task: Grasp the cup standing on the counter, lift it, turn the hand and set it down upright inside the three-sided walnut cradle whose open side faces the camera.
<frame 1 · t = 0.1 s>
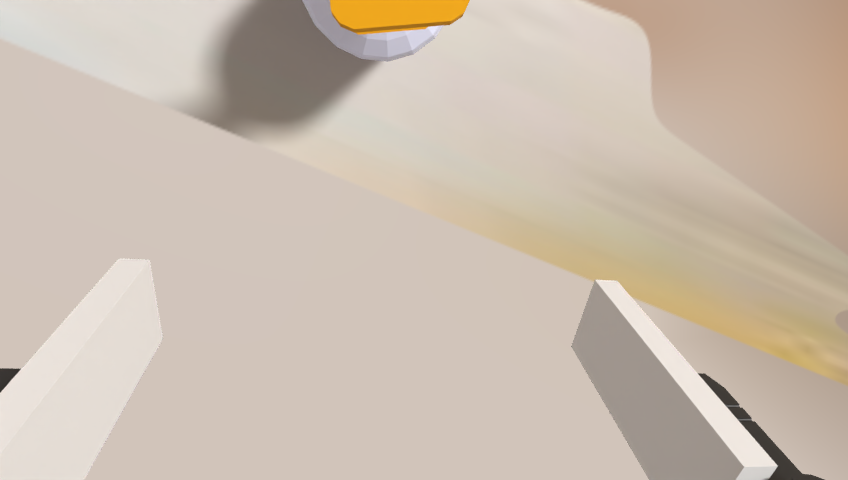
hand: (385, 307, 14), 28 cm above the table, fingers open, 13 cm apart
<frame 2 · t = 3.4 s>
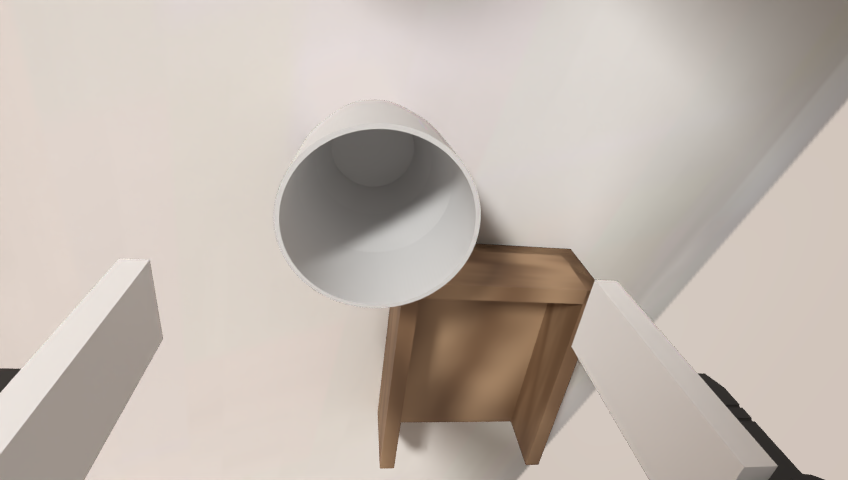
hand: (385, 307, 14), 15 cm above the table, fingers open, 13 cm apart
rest: (466, 337, 35), on the table
cup: (373, 145, 27), on the table
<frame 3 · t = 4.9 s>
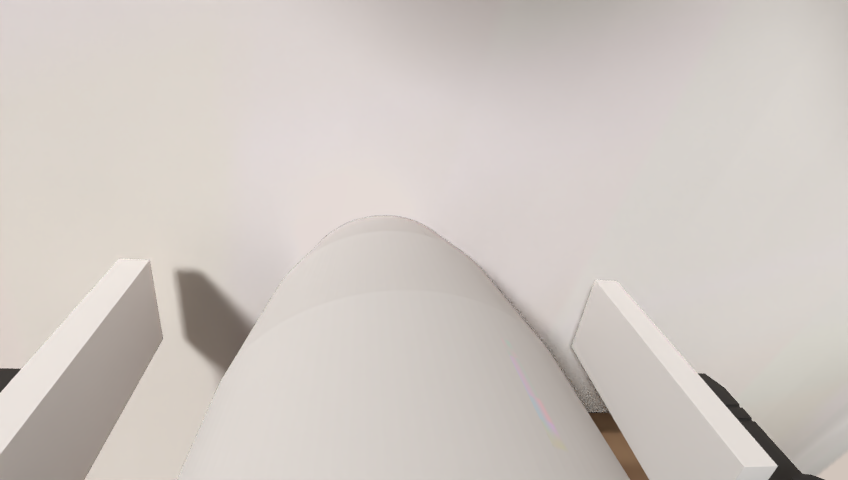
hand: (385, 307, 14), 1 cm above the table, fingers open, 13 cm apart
cup: (383, 281, 15), on the table
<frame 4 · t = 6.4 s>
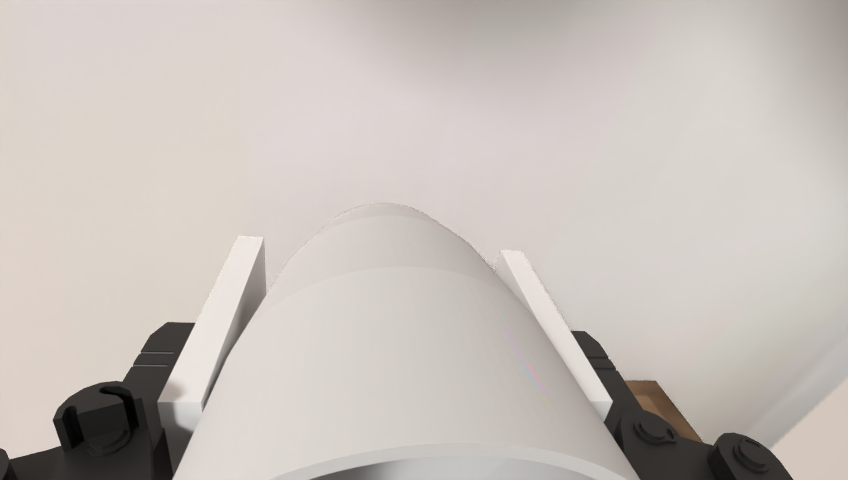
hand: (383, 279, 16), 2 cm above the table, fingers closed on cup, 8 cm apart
cup: (383, 267, 16), point 2 cm above the table, touching gripper
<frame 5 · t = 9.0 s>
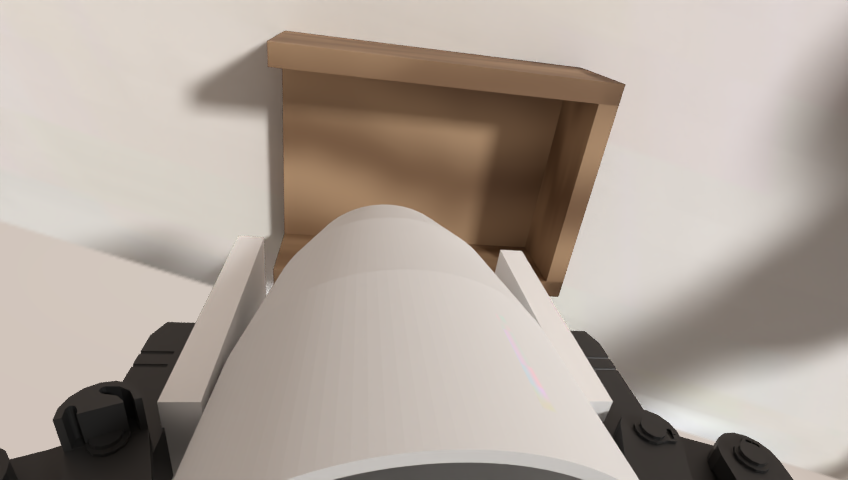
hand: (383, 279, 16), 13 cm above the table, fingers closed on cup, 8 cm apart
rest: (426, 158, 27), on the table
cup: (383, 269, 16), point 13 cm above the table, touching gripper
when the fingers open (3 cm above the table, at t = 11.5 s): cup drops 1 cm, resting on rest.
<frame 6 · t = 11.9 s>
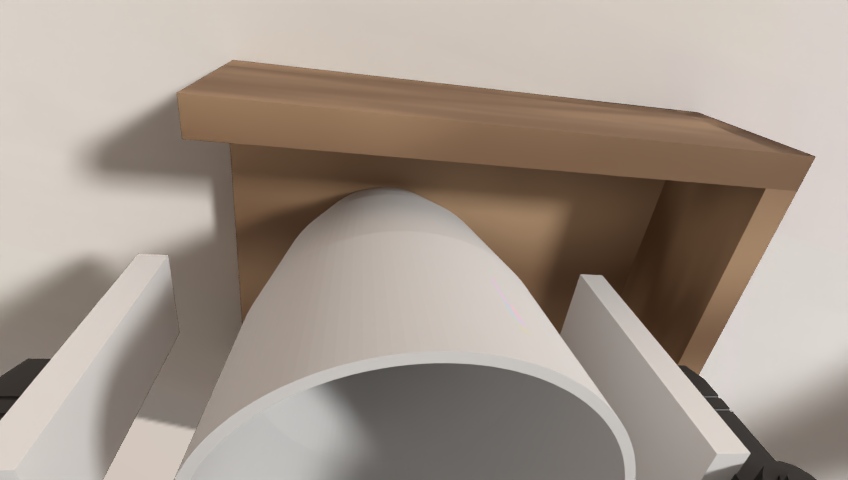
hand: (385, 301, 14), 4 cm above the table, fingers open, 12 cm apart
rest: (456, 245, 18), on the table
cup: (383, 248, 17), point 1 cm above the table, touching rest
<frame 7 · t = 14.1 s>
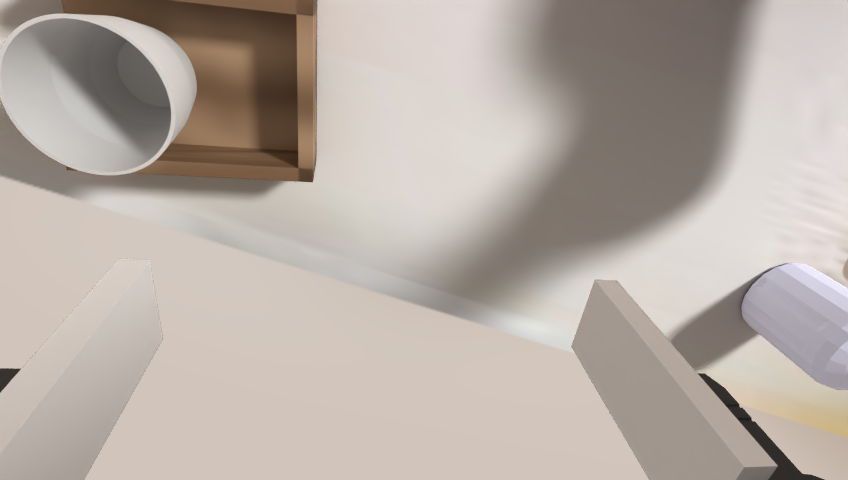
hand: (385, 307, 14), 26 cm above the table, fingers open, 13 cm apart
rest: (205, 75, 34), on the table
cup: (157, 71, 33), point 1 cm above the table, touching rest
soap bottle: (774, 293, 54), on the table
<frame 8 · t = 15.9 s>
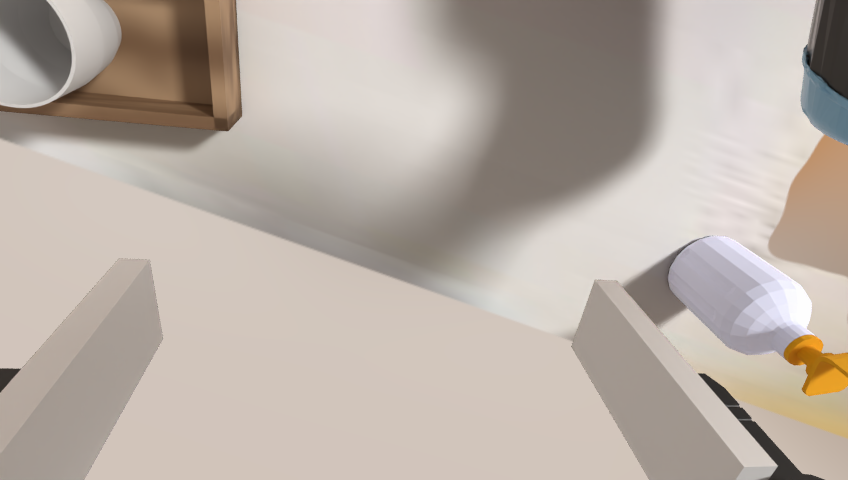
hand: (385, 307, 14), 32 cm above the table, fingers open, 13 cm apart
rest: (133, 30, 37), on the table
cup: (87, 25, 36), point 1 cm above the table, touching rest
soap bottle: (701, 266, 56), on the table
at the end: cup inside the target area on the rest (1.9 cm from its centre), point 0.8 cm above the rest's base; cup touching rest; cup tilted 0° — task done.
